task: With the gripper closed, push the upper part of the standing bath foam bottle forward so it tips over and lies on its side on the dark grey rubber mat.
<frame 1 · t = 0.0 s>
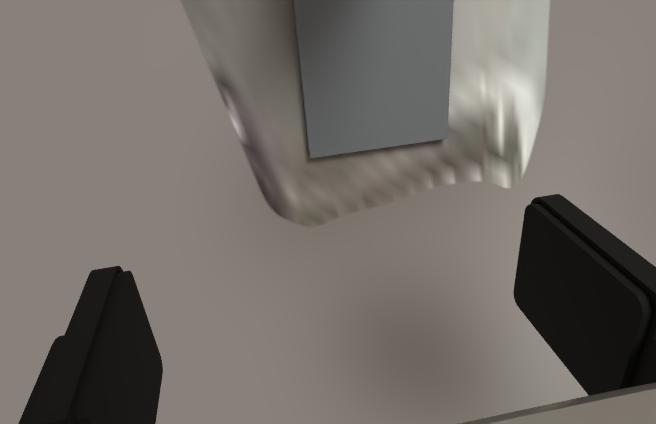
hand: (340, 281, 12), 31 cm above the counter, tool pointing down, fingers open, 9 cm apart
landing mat: (374, 45, 40), on the counter
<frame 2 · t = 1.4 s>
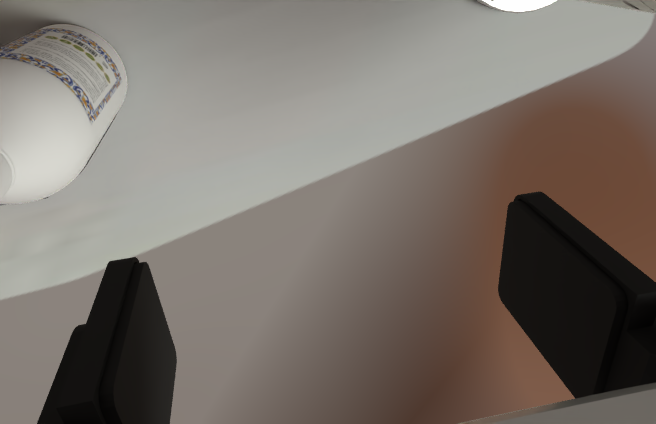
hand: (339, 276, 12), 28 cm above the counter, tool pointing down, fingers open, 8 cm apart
bath foam: (76, 74, 35), on the counter
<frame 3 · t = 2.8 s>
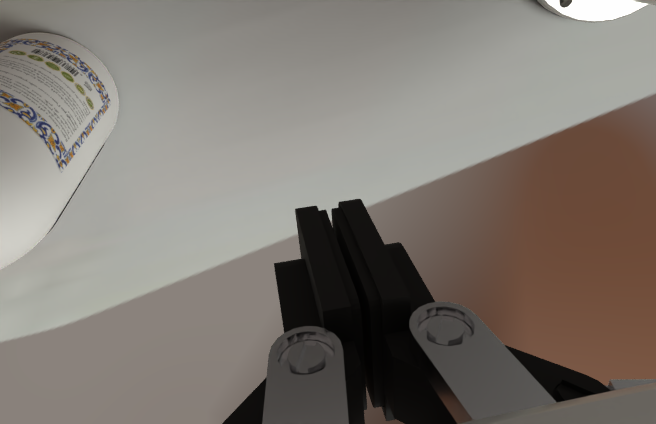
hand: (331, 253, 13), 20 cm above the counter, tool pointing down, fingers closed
bath foam: (57, 92, 28), on the counter
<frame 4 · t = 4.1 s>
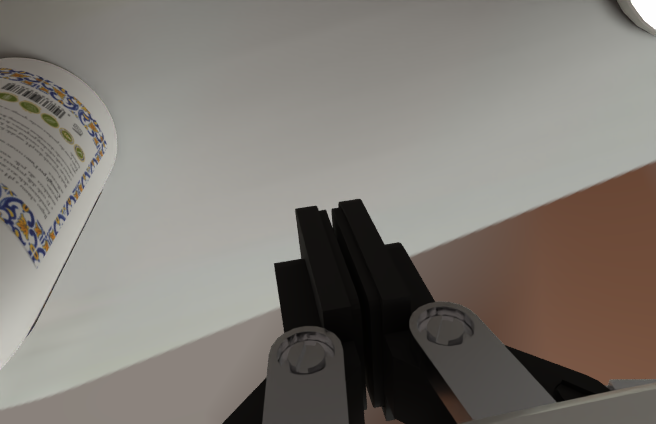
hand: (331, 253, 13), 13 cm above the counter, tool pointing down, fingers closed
bath foam: (41, 129, 23), on the counter
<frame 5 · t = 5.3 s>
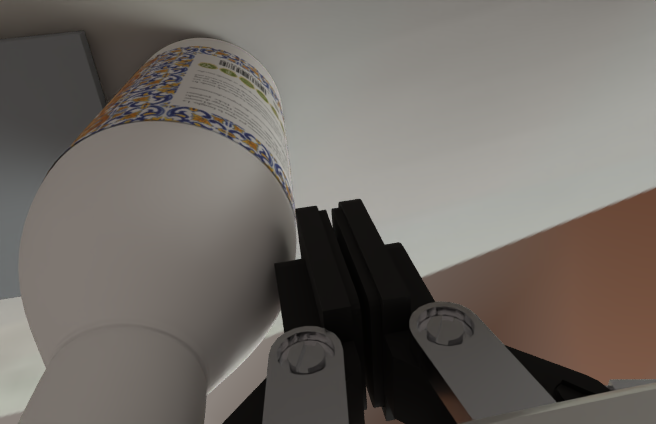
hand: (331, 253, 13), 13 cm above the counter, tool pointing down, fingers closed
bath foam: (210, 109, 24), on the counter, touching gripper
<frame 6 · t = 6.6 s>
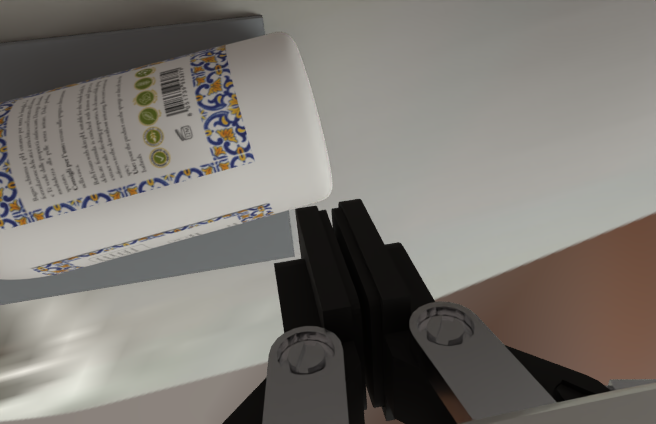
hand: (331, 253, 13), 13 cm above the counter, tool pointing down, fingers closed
bath foam: (317, 114, 20), point 4 cm above the counter, touching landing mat
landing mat: (102, 170, 24), on the counter
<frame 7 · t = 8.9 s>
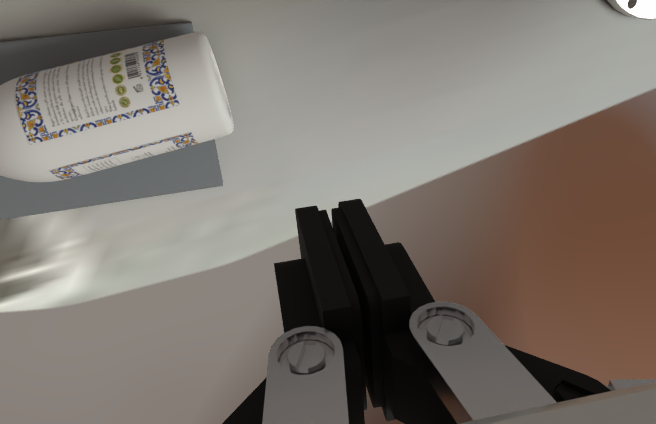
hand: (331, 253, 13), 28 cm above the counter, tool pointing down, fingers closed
bath foam: (223, 82, 33), point 4 cm above the counter, touching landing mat
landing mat: (90, 123, 37), on the counter
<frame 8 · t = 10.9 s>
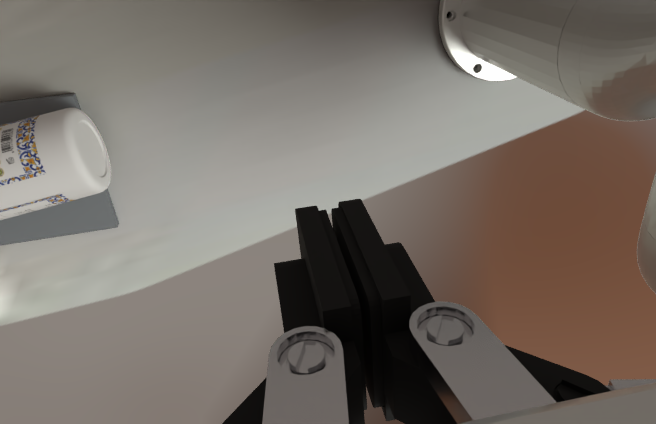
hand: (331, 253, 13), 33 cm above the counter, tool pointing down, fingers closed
bath foam: (95, 148, 39), point 4 cm above the counter, touching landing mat
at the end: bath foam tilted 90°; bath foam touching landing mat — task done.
